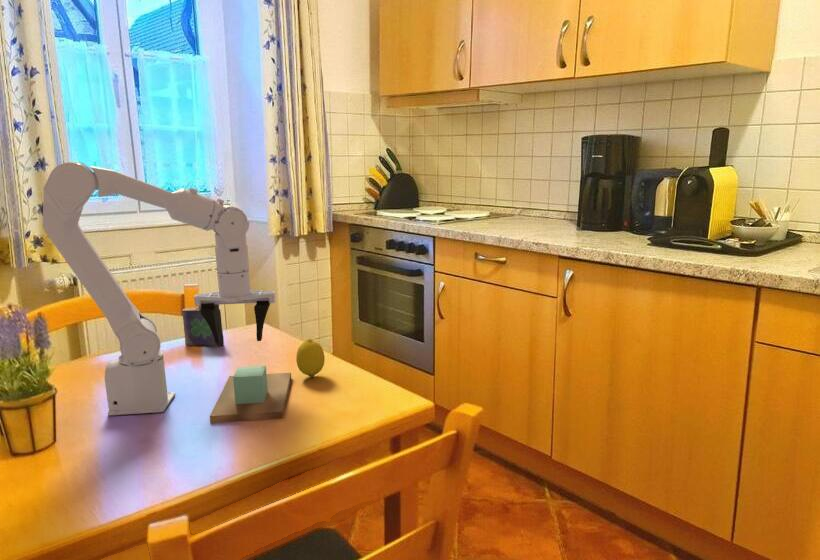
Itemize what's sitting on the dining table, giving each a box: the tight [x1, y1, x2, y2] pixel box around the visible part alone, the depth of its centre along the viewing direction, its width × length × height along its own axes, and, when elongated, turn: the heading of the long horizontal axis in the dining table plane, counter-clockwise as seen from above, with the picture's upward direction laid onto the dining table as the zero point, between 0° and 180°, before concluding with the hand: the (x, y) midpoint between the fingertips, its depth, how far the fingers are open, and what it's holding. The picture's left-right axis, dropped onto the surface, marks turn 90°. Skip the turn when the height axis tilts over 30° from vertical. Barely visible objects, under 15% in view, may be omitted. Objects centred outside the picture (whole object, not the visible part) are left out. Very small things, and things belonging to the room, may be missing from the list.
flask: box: [181, 306, 225, 348], centre depth 138 cm, size 9×3×11 cm, turn 84°
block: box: [233, 365, 268, 404], centre depth 106 cm, size 5×5×5 cm
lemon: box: [295, 338, 326, 378], centre depth 118 cm, size 6×6×8 cm
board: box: [209, 372, 292, 424], centre depth 109 cm, size 12×18×1 cm, turn 6°
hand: (239, 340), depth 113 cm, fingers open, 7 cm apart
